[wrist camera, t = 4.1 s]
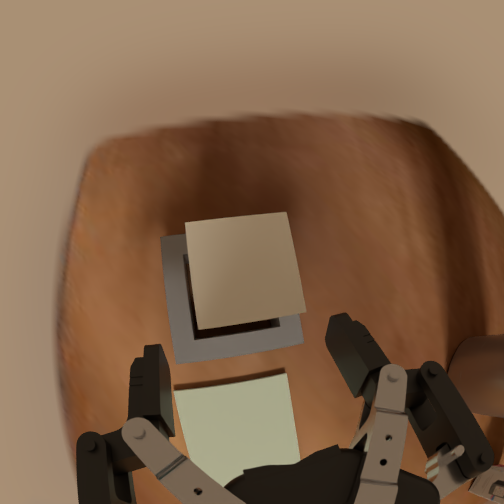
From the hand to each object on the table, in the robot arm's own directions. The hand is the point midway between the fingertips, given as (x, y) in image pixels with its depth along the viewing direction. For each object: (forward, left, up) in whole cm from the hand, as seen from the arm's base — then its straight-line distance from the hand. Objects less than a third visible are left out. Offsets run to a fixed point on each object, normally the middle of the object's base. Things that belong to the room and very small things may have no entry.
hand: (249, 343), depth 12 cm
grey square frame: (0, -3, -9) cm, 10 cm away
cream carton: (0, -3, -9) cm, 10 cm away
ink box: (-34, +36, -10) cm, 50 cm away
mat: (+1, +9, -9) cm, 13 cm away
